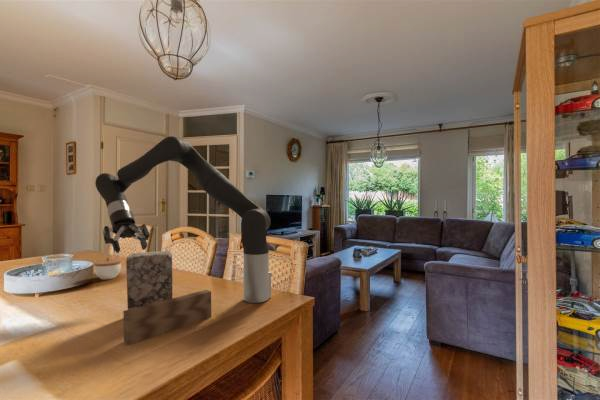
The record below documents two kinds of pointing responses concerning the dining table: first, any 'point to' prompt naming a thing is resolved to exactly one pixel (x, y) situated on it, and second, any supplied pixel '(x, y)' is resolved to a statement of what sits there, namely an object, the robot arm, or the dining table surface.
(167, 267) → the stone block
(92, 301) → the dining table surface
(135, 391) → the dining table surface
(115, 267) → the lidded jar
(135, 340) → the stop bar
